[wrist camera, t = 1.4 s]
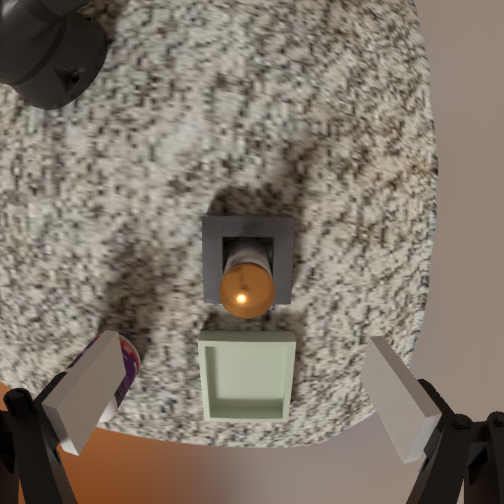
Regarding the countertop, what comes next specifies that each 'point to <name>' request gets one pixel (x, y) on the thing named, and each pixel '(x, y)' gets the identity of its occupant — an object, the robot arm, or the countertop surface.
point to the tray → (246, 375)
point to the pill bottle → (132, 369)
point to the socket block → (248, 226)
